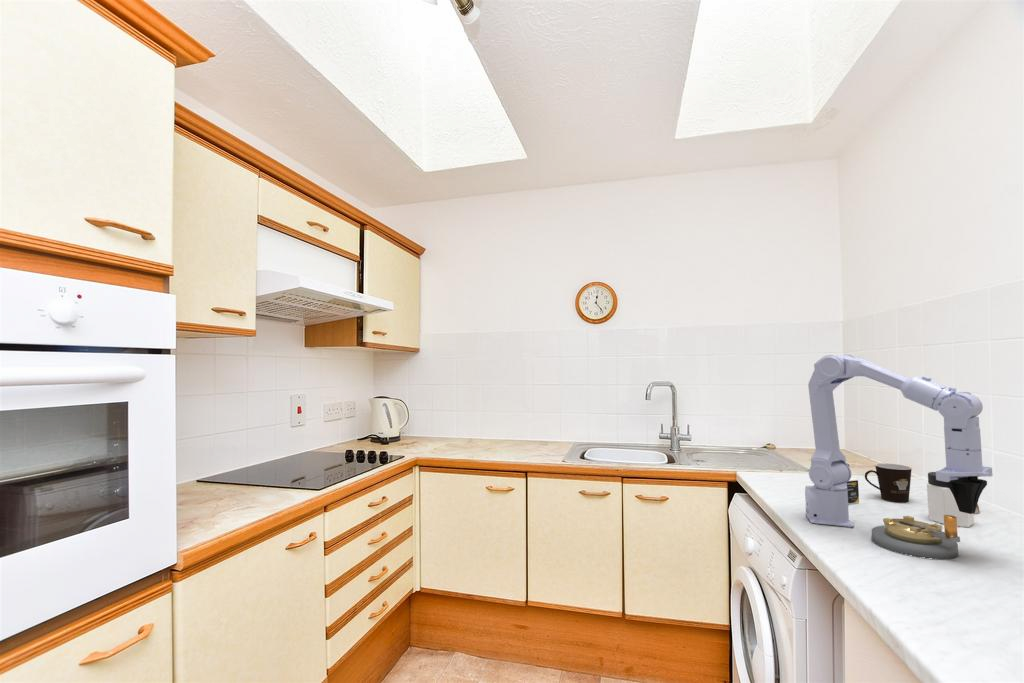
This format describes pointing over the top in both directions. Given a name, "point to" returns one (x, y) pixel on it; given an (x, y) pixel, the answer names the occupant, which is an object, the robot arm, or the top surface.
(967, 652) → the top surface
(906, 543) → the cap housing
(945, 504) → the jar
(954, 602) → the top surface
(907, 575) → the top surface
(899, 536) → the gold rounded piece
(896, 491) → the coffee mug
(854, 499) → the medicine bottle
